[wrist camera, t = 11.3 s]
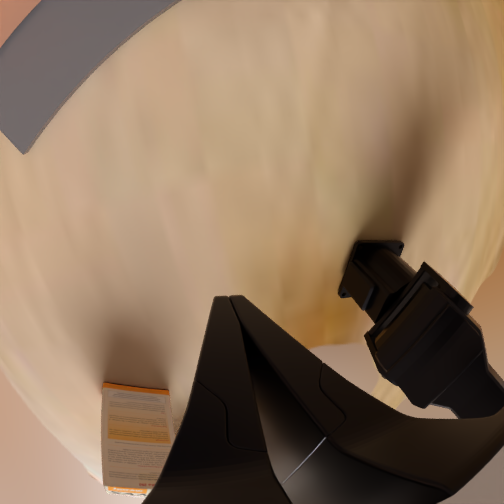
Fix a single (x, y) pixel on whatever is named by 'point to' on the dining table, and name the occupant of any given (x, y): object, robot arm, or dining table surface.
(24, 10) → the terracotta key
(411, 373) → the robot arm
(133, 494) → the supplement box
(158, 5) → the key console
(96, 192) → the dining table surface
